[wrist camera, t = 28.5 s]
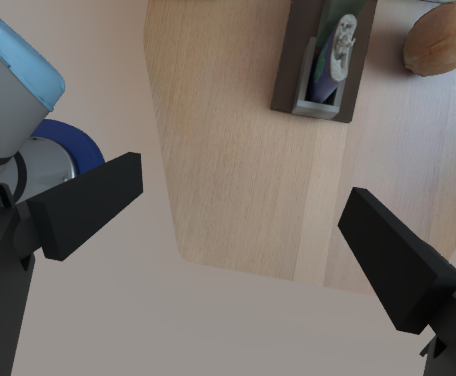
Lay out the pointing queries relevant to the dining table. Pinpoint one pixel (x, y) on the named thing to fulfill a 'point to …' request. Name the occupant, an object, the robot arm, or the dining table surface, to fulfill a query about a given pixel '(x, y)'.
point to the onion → (432, 42)
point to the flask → (332, 60)
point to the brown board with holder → (308, 51)
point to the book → (440, 1)
